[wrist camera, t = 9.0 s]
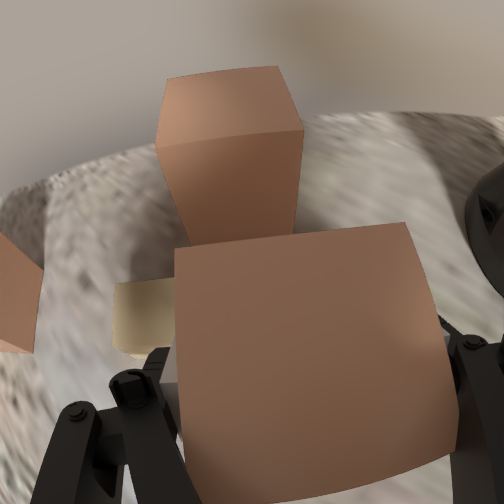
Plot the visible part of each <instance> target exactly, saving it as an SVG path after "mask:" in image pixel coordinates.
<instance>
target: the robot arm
mask: <svg viewBox="0 0 504 504" xmlns="http://www.w3.org/2000/svg"><path fill="white" fill-rule="evenodd" d="M465 221H466V228H467V233H468V237H469V240H470V243H471V246H472V249H473V251H474V254H475V256H476V258H477V260H478V262H479V264H480V266H481V268H482V269H483V271H484V273H485V274H486V276H487V277H488V279H489V280H490V282H491V283H492V284H493V286H494V287H495V288H496V290H497V291H498V292H499V293H500V294H501V295H502V296H503V297H504V162H503V163H502V164H501V165H499V166H498V167H496V168H495V169H493V170H492V171H490V172H489V173H487V174H486V175H485V176H483V177H482V178H481V179H480V181H479V182H478V183H477V185H476V186H475V188H474V189H473V191H472V192H471V194H470V195H469V197H468V200H467V203H466V208H465ZM438 318H439V321H440V325H441V329H442V332H443V336H444V340H445V344H446V348H447V352H448V356H449V361H450V365H451V370H452V375H453V380H454V385H455V390H456V395H457V401H458V407H459V421H458V431H457V439H456V447H455V451H454V452H452V453H450V463H451V474H452V488H453V504H504V334H503V337H502V341H501V343H493V344H488V342H487V341H486V340H485V339H484V338H482V337H480V336H477V335H469V334H468V335H462V334H461V333H460V332H459V331H457V330H456V329H455V328H454V327H453V326H451V325H450V324H449V323H447V321H445V320H444V319H443V318H441V316H439V315H438ZM109 388H110V390H111V393H112V395H113V397H114V399H115V401H116V404H117V406H118V407H114V408H111V409H105V410H100V411H96V409H95V407H94V406H93V404H92V403H90V402H87V401H78V402H74V403H71V404H69V405H68V406H66V407H65V408H64V409H63V410H62V412H61V413H60V416H59V418H58V421H57V423H56V426H55V428H54V431H53V434H52V437H51V439H50V442H49V445H48V448H47V451H46V453H45V456H44V459H43V462H42V465H41V468H40V471H39V475H38V478H37V481H36V484H35V488H34V491H33V495H32V498H31V502H30V504H121V499H122V486H123V476H124V466H125V465H127V464H128V466H129V470H130V474H131V479H132V483H133V487H134V491H135V495H136V499H137V502H138V504H202V502H201V500H200V498H199V496H198V494H197V492H196V490H195V488H194V486H193V483H192V481H191V479H190V477H189V475H188V473H187V470H186V465H185V463H184V460H183V458H182V455H181V453H180V451H179V448H178V446H177V444H176V438H177V432H178V435H179V437H180V439H181V442H183V438H182V428H181V417H180V406H179V393H178V378H177V360H176V338H175V335H174V338H173V341H172V344H171V347H156V348H155V349H154V350H153V351H152V352H151V353H150V354H149V355H148V357H147V359H146V362H145V364H144V367H143V370H142V369H129V370H125V371H122V372H120V373H118V374H117V375H115V376H114V377H113V378H112V379H111V380H110V383H109Z"/></svg>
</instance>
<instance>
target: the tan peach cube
mask: <svg viewBox="0 0 504 504" xmlns="http://www.w3.org/2000/svg"><path fill="white" fill-rule="evenodd" d="M43 273H44V270H42V269H41V268H40V267H39V266H38V265H37V264H35V263H34V262H33V261H32V260H31V259H30V258H29V257H27V256H26V255H25V254H24V253H23V252H22V251H21V250H20V249H19V248H17V247H16V246H15V245H14V244H13V243H12V242H11V241H10V240H9V239H8V238H7V237H6V236H5V235H4V234H3V233H2V232H1V231H0V351H1V352H14V353H30V354H33V350H34V337H35V327H36V318H37V310H38V303H39V296H40V290H41V284H42V278H43Z"/></svg>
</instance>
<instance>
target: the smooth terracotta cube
mask: <svg viewBox="0 0 504 504" xmlns="http://www.w3.org/2000/svg"><path fill="white" fill-rule="evenodd" d="M174 300H175V338H176V360H177V378H178V393H179V406H180V417H181V428H182V438H183V447H184V456H185V464H186V470H187V473H188V475H189V477H190V479H191V481H192V483H193V486H194V488H195V490H196V492H197V494H198V496H199V498H200V500H201V502H202V504H272V503H280V502H288V501H294V500H301V499H307V498H312V497H317V496H322V495H327V494H332V493H336V492H340V491H345V490H349V489H353V488H356V487H360V486H364V485H367V484H371V483H374V482H377V481H380V480H384V479H387V478H390V477H393V476H396V475H398V474H401V473H404V472H407V471H409V470H412V469H415V468H417V467H420V466H422V465H425V464H427V463H430V462H432V461H434V460H437V459H439V458H441V457H443V456H446V455H448V454H450V453H452V452H454V451H455V447H456V439H457V431H458V421H459V407H458V401H457V395H456V390H455V385H454V380H453V375H452V370H451V365H450V361H449V356H448V352H447V348H446V344H445V340H444V336H443V332H442V329H441V325H440V321H439V318H438V314H437V311H436V308H435V304H434V301H433V298H432V295H431V291H430V288H429V285H428V282H427V279H426V276H425V273H424V271H423V268H422V265H421V262H420V259H419V257H418V254H417V251H416V249H415V246H414V243H413V241H412V238H411V236H410V233H409V231H408V228H407V226H406V223H405V222H401V223H391V224H382V225H372V226H363V227H353V228H344V229H335V230H326V231H317V232H308V233H299V234H290V235H282V236H273V237H264V238H256V239H247V240H239V241H231V242H222V243H214V244H206V245H198V246H190V247H182V248H174Z"/></svg>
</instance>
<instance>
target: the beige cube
mask: <svg viewBox="0 0 504 504" xmlns="http://www.w3.org/2000/svg"><path fill="white" fill-rule="evenodd" d="M174 335H175V300H174V277H173V278H164V279H155V280H146V281H136V282H127V283H118V284H115V293H114V309H113V332H112V346H113V347H115V348H117V349H119V350H120V351H122V352H124V353H126V354H128V355H130V356H132V357H134V358H136V359H147V357H148V355H149V354H150V353H151V352H152V351H153V350H154V349H155V348H156V347H171V344H172V341H173V338H174Z"/></svg>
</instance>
